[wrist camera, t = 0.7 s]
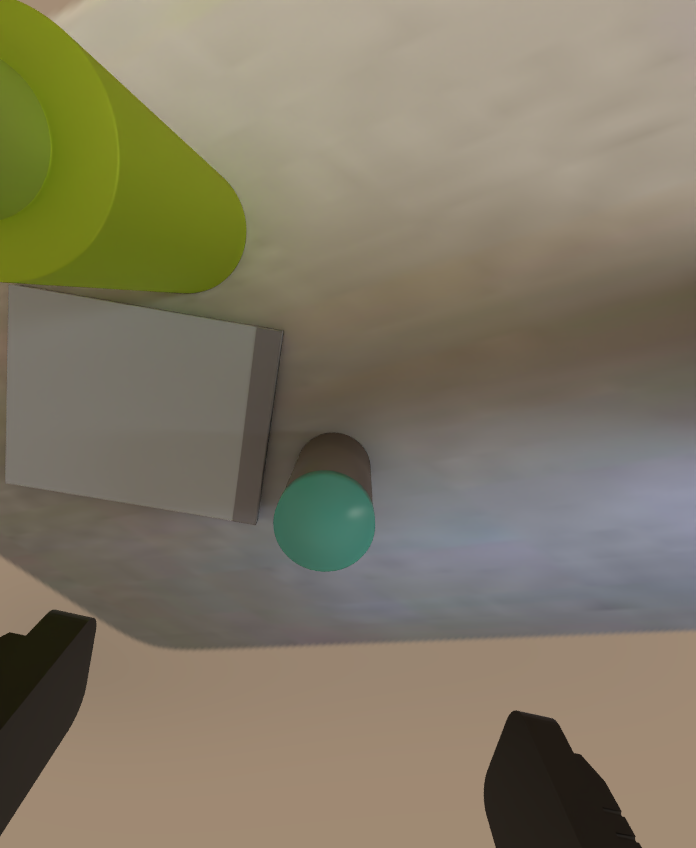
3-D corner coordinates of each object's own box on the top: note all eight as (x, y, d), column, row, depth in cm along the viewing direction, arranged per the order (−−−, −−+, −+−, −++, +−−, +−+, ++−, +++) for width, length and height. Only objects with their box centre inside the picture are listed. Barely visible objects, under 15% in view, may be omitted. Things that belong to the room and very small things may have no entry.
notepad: (283, 330, 25) (281, 331, 24) (257, 519, 27) (255, 524, 27) (16, 284, 25) (7, 284, 24) (12, 479, 27) (5, 483, 26)
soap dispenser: (219, 120, 23) (-554, -892, 4) (261, 276, 24) (-123, 173, 5) (96, 154, 23) (-1204, -585, 4) (144, 306, 25) (-626, 314, 5)
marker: (377, 438, 26) (383, 486, 19) (364, 509, 27) (365, 578, 20) (301, 425, 26) (280, 469, 19) (290, 497, 27) (267, 562, 20)
